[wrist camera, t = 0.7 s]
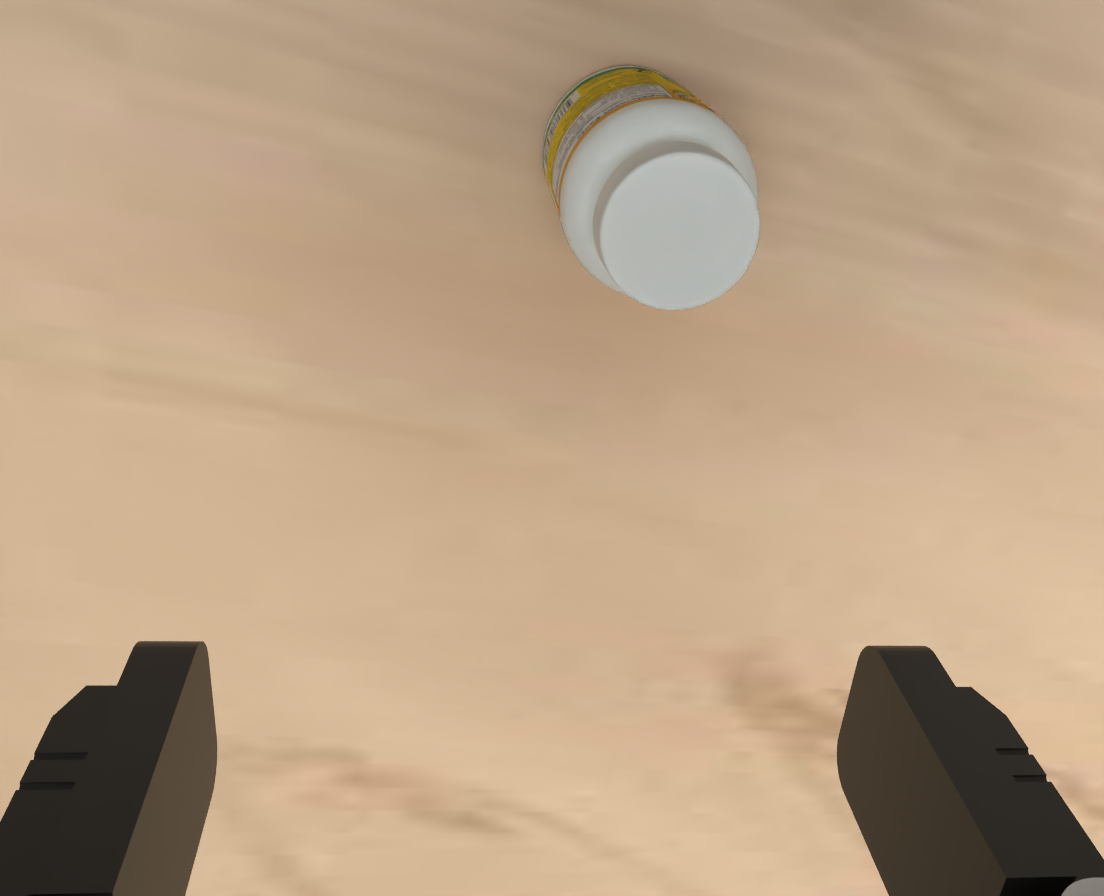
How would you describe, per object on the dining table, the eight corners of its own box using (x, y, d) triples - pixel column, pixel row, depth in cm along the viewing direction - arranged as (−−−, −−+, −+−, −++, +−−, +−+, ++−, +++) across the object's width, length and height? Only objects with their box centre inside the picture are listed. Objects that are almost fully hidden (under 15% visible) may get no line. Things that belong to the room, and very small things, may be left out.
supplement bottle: (518, 96, 33) (541, 162, 25) (682, 38, 33) (762, 85, 24) (570, 253, 36) (606, 363, 27) (722, 201, 35) (807, 296, 27)
